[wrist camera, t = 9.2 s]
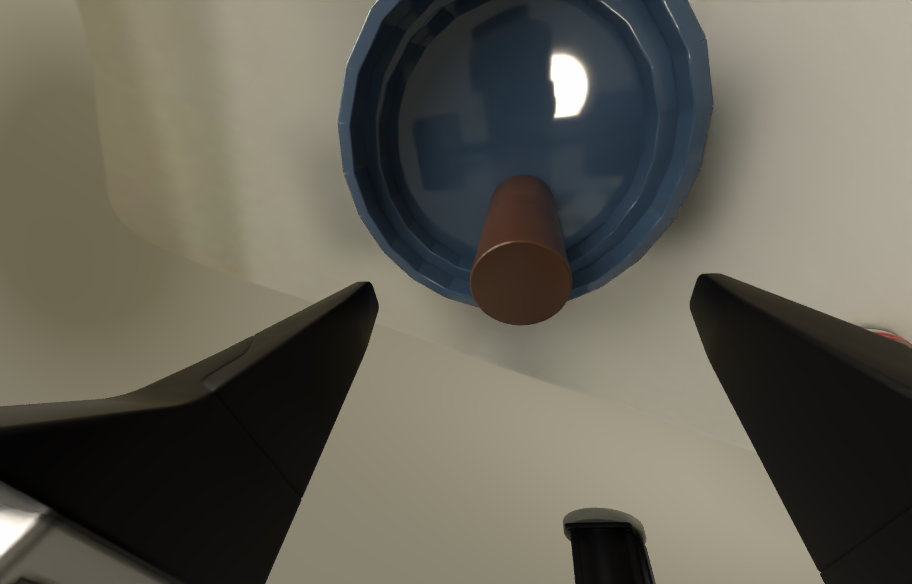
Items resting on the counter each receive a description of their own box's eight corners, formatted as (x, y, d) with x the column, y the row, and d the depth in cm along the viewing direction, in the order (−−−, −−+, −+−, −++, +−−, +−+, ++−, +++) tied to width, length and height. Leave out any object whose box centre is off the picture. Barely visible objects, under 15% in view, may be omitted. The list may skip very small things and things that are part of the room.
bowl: (451, 303, 20) (440, 338, 17) (314, 79, 14) (267, 80, 12) (694, 224, 15) (729, 256, 12) (632, -172, 9) (675, -269, 7)
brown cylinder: (504, 244, 16) (493, 335, 11) (479, 191, 15) (452, 263, 9) (562, 222, 15) (585, 311, 10) (541, 162, 14) (552, 224, 8)
